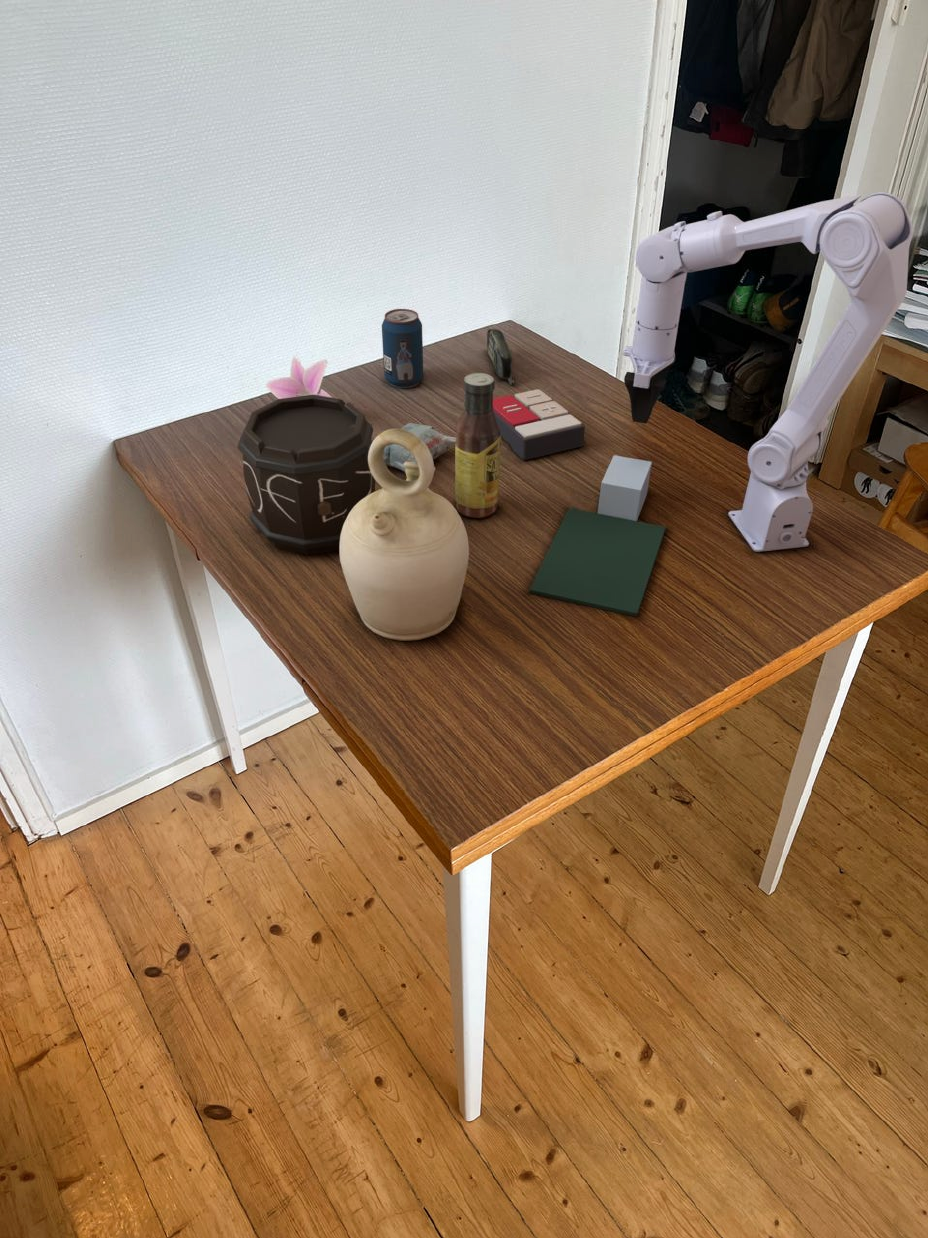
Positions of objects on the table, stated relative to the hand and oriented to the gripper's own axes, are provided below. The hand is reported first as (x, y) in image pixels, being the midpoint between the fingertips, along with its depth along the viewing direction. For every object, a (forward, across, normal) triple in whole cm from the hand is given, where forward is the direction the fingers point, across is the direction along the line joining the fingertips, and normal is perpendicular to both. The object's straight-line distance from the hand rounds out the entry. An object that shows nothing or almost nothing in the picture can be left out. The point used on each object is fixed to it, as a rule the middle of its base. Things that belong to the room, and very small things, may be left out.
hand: (643, 412), depth 134 cm
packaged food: (+11, +8, -33) cm, 35 cm away
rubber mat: (+10, +23, 0) cm, 25 cm away
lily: (+11, +2, -55) cm, 56 cm away
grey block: (+8, +9, 0) cm, 12 cm away
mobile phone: (+11, -28, -30) cm, 42 cm away
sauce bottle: (+11, +17, -20) cm, 28 cm away
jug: (+11, +42, -20) cm, 48 cm away
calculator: (+11, -7, -18) cm, 22 cm away
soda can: (+11, -17, -45) cm, 49 cm away
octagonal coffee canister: (+11, +28, -40) cm, 50 cm away
